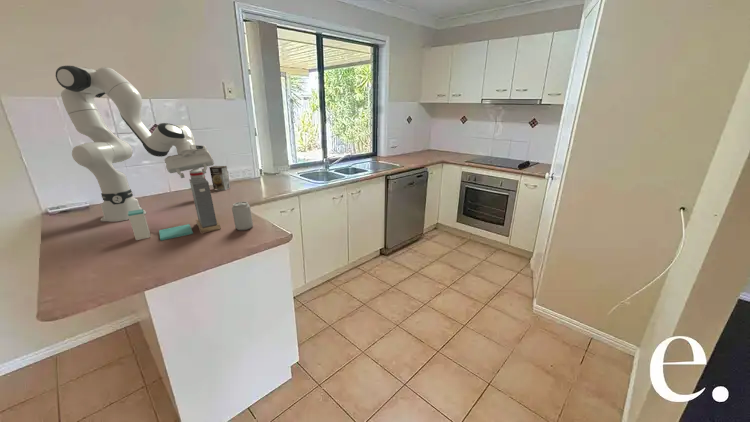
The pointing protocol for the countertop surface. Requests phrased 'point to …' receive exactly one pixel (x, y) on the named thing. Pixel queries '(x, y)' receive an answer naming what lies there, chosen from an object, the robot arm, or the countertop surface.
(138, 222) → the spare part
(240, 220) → the can
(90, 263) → the countertop surface
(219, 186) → the coffee box
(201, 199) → the mounted unit
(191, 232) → the pad
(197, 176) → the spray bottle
